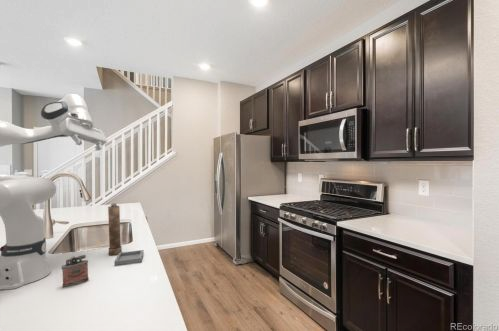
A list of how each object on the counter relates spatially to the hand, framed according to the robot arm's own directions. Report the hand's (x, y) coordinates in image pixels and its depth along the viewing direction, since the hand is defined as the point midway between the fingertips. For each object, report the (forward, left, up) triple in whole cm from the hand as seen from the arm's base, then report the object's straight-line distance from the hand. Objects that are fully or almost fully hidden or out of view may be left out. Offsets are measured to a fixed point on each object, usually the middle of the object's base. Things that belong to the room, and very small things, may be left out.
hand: (89, 147), depth 112 cm
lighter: (0, -22, -52) cm, 56 cm away
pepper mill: (+8, +6, -52) cm, 53 cm away
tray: (+16, -5, -52) cm, 54 cm away
